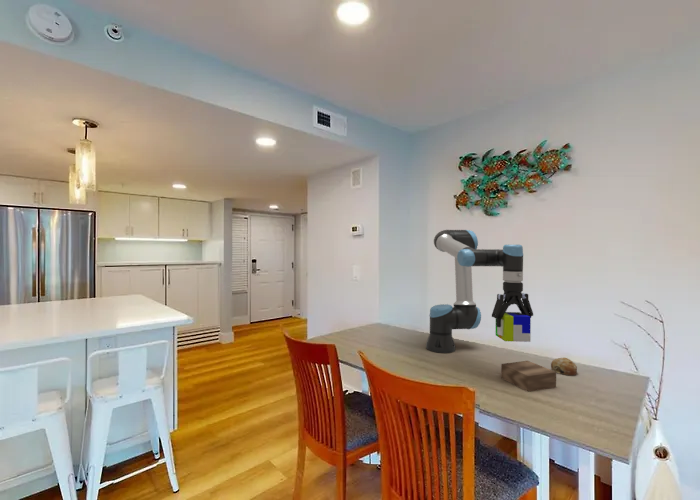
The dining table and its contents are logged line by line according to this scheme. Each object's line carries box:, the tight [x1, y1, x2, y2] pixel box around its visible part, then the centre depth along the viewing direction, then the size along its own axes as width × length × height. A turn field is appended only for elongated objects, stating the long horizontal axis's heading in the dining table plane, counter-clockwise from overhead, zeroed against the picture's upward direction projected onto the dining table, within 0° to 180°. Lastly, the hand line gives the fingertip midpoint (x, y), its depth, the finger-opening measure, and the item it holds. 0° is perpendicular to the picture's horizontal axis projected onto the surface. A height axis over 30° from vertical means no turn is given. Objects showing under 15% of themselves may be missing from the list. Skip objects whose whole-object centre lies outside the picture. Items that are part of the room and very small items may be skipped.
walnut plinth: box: [500, 360, 557, 392], centre depth 139 cm, size 14×14×6 cm
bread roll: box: [550, 357, 578, 377], centre depth 151 cm, size 10×10×8 cm
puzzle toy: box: [495, 311, 532, 343], centre depth 142 cm, size 10×10×10 cm
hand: (512, 334), depth 141 cm, fingers closed on puzzle toy, 12 cm apart
